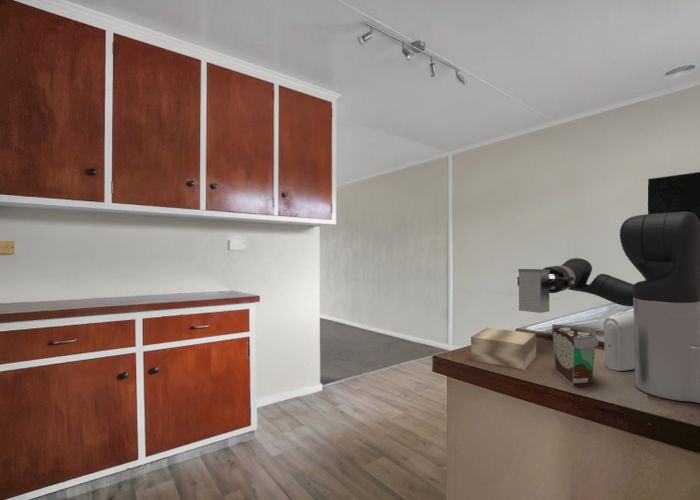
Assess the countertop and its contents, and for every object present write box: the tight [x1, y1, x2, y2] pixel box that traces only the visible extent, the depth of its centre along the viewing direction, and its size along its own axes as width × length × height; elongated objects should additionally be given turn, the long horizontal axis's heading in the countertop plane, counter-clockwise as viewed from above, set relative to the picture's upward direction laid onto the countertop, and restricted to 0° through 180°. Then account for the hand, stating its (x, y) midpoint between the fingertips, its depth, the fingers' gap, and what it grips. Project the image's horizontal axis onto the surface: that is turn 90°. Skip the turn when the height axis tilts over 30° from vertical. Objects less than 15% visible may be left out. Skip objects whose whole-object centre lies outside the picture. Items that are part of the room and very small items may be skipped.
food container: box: [551, 324, 599, 388], centre depth 72 cm, size 12×6×10 cm, turn 168°
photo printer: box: [603, 311, 635, 372], centre depth 78 cm, size 10×4×12 cm, turn 105°
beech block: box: [470, 327, 537, 371], centre depth 86 cm, size 12×12×6 cm
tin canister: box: [517, 268, 550, 314], centre depth 91 cm, size 6×6×11 cm
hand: (531, 284), depth 90 cm, fingers closed on tin canister, 5 cm apart
